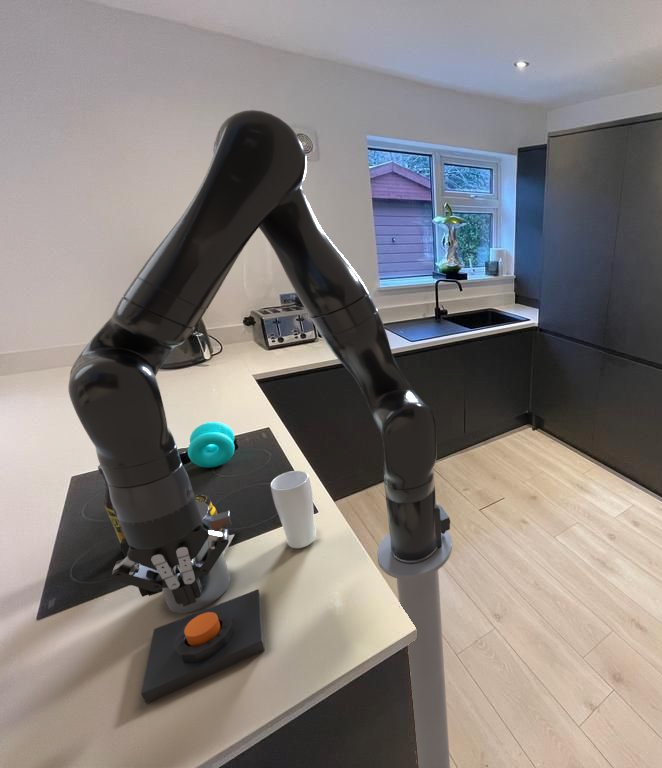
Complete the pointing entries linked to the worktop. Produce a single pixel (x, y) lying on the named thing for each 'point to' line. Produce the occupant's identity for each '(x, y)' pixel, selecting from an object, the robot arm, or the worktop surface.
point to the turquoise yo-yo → (211, 444)
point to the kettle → (218, 575)
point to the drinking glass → (295, 507)
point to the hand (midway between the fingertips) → (190, 600)
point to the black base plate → (203, 647)
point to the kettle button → (202, 629)
